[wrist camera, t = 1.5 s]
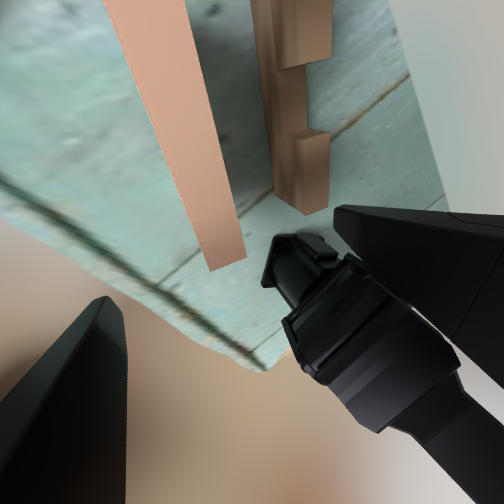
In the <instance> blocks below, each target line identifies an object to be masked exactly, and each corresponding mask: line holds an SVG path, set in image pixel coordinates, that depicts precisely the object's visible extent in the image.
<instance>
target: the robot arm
mask: <svg viewBox="0 0 504 504" xmlns="http://www.w3.org/2000/svg"><path fill="white" fill-rule="evenodd" d="M333 227H334V229H335V231H336V232H337V233H338V234H339V236H340V237H341V238H342V239H343V240H344V241H345V242H346V244H347V245H348V246H349V247H350V248H351V249H352V250H353V251H354V252H355V254H356V255H357V256H358V257H360V258H361V259H362V260H363V261H362V260H360V259H359V258H357V257H355V256H354V255H352V254H350V253H349V252H348V253H347V254H346V255H345V256H344V258H343V259H342V260H340V259H339V258H338V255H339V254H338V252H337V251H336V250H334V249H333V248H332V247H330V246H329V245H328V244H326V243H325V242H324V241H325V239H324V238H323V237H322V236H316V235H314V234H294V235H276V236H275V237H274V238H273V240H272V244H271V247H270V251H269V255H268V258H267V262H266V266H265V269H264V273H263V277H262V281H261V285H262V287H263V288H273V287H276V289H277V290H278V291H279V293H280V294H281V295H282V297H283V298H284V300H285V301H286V302H287V304H288V305H289V306H290V308H291V309H292V311H291V313H290V314H289V315H288V316H287V317H284V318H283V319H282V320H281V322H282V325H283V327H284V331H285V333H286V336H287V338H288V340H289V343H290V345H291V348H292V350H293V353H294V355H295V358H296V360H297V362H298V363H299V364H300V366H301V369H302V370H303V371H304V372H305V373H308V374H310V376H311V377H312V378H313V379H315V380H316V381H317V382H318V383H320V384H321V385H324V386H328V387H329V388H330V390H331V391H332V392H333V393H334V394H335V395H336V396H337V397H338V398H339V399H340V401H341V402H342V403H343V404H344V405H345V407H346V408H347V409H348V410H349V412H351V414H352V415H353V417H354V418H355V419H356V420H357V421H358V423H359V424H361V425H363V426H364V427H366V428H368V429H369V430H371V431H373V432H375V433H378V434H379V433H380V432H381V431H383V430H384V429H385V428H386V427H387V426H389V427H392V428H394V429H397V430H400V431H402V432H405V433H407V434H409V435H411V436H412V437H413V438H414V439H415V440H416V441H417V442H418V443H419V444H420V445H421V446H422V447H423V448H424V449H425V450H426V451H427V452H428V454H429V455H430V456H431V457H432V458H433V459H434V460H435V461H436V462H437V463H438V464H439V465H440V466H441V467H442V468H443V469H444V470H445V471H446V472H447V474H448V475H449V476H450V477H451V478H452V479H453V480H454V481H455V482H456V483H457V484H458V485H459V486H460V487H461V488H462V489H463V490H464V491H465V493H467V495H468V496H469V497H470V498H471V499H472V500H473V501H474V502H475V503H476V504H504V426H503V424H502V423H500V422H499V421H498V420H497V419H496V418H495V417H494V416H492V415H491V414H490V413H489V412H488V411H487V410H486V409H485V408H483V407H482V406H481V405H480V404H479V403H478V402H477V401H475V400H474V399H473V398H472V397H471V396H470V395H469V394H468V393H466V392H465V390H464V388H463V385H462V383H461V380H460V378H459V375H458V373H457V369H458V368H459V367H460V366H461V363H460V361H459V359H458V357H457V355H456V353H455V351H454V349H453V347H452V346H451V345H450V344H449V343H448V342H447V341H446V340H445V339H444V337H443V336H442V335H441V333H440V332H438V331H437V330H436V329H435V328H434V327H433V326H431V325H430V324H429V323H428V322H427V321H425V320H424V319H423V318H422V317H421V316H420V315H418V314H417V313H416V312H415V311H414V310H412V309H411V308H412V307H414V308H415V309H417V310H418V311H419V312H420V313H421V314H422V315H423V316H424V317H425V318H426V319H427V320H428V321H430V322H431V323H432V324H433V325H434V326H435V327H436V328H437V329H438V330H439V331H441V332H442V333H443V334H444V335H445V336H446V337H447V338H448V339H450V341H451V342H452V343H453V344H455V345H456V346H457V347H458V348H459V349H460V350H461V351H462V352H463V353H464V354H466V355H467V356H468V357H469V358H470V359H471V360H472V361H473V362H474V363H475V364H476V365H478V366H479V367H480V368H481V369H482V370H483V371H484V372H485V373H486V374H487V375H488V376H490V377H491V378H492V379H493V380H494V381H495V382H496V383H497V384H498V385H499V386H500V387H502V388H503V389H504V215H487V214H470V213H455V212H454V213H453V212H446V213H445V212H440V211H427V210H413V209H399V208H386V207H372V206H358V205H341V206H338V207H336V208H335V209H334V216H333ZM278 239H279V240H278ZM277 240H278V241H277ZM276 241H277V242H276ZM265 283H266V284H265ZM127 372H128V356H127V345H126V336H125V328H124V320H123V314H122V312H121V310H120V309H119V308H118V307H117V305H116V304H115V303H114V302H113V301H112V299H111V298H110V297H109V296H102V297H100V298H97V299H95V300H93V301H92V302H91V303H90V304H89V305H88V306H87V307H86V308H85V310H84V311H83V312H82V313H81V314H80V315H79V316H78V317H77V318H76V319H75V321H74V322H73V323H72V324H71V325H70V326H69V327H68V328H67V330H65V331H64V333H63V334H62V335H61V336H60V337H59V338H58V339H57V340H56V342H55V343H54V344H53V345H52V346H51V347H50V348H49V349H48V350H47V351H46V352H45V353H44V355H43V356H42V357H41V358H40V359H39V360H38V361H37V362H36V363H35V364H34V366H32V368H31V369H30V370H29V371H28V372H27V373H26V374H25V375H24V376H23V378H22V379H21V380H20V381H19V382H18V383H17V384H16V385H15V386H14V388H12V389H11V391H10V392H9V393H8V394H7V395H6V396H5V397H4V398H3V399H2V400H1V402H0V504H125V495H126V434H127V429H126V428H127Z"/></svg>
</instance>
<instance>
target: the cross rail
mask: <svg viewBox="0 0 504 504" xmlns="http://www.w3.org/2000/svg"><path fill="white" fill-rule="evenodd" d="M251 8H252V16H253V24H254V32H255V40H256V48H257V56H258V64H259V72H260V80H261V88H262V96H263V103H264V111H265V119H266V127H267V135H268V143H269V151H270V159H271V167H272V175H273V183H274V191H275V196H277V197H278V198H280V199H281V200H283V201H284V202H286V203H287V204H289V205H290V206H292V207H293V208H295V209H296V210H298V211H299V212H301V213H302V214H304V215H305V216H306V215H308V214H311V213H314V212H316V211H319V210H322V209H324V208H327V207H328V192H329V148H330V132H326V131H319V130H311V129H307V103H306V70H305V65H306V64H309V63H313V62H317V61H321V60H325V59H328V58H332V16H333V0H251Z"/></svg>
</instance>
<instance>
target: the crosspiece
mask: <svg viewBox="0 0 504 504" xmlns="http://www.w3.org/2000/svg"><path fill="white" fill-rule="evenodd" d="M103 2H104V4H105V7H106V10H107V12H108V15H109V18H110V20H111V23H112V25H113V28H114V30H115V33H116V35H117V38H118V40H119V43H120V46H121V48H122V51H123V53H124V56H125V58H126V61H127V63H128V66H129V68H130V71H131V74H132V76H133V79H134V81H135V84H136V86H137V89H138V91H139V94H140V96H141V99H142V101H143V103H144V106H145V108H146V111H147V114H148V116H149V119H150V121H151V124H152V126H153V129H154V131H155V134H156V137H157V139H158V142H159V144H160V147H161V149H162V152H163V154H164V157H165V159H166V163H167V165H168V168H169V170H170V173H171V175H172V178H173V180H174V183H175V186H176V188H177V191H178V193H179V196H180V198H181V201H182V203H183V206H184V208H185V211H186V213H187V216H188V218H189V221H190V223H191V226H192V228H193V231H194V233H195V235H196V238H197V240H198V243H199V245H200V248H201V250H202V253H203V255H204V258H205V260H206V262H207V265H208V267H209V270H210V272H211V271H214V270H216V269H219V268H221V267H224V266H226V265H229V264H231V263H234V262H236V261H239V260H241V259H244V258H246V257H247V254H246V250H245V246H244V242H243V238H242V233H241V229H240V225H239V221H238V217H237V213H236V209H235V205H234V201H233V197H232V193H231V189H230V185H229V181H228V177H227V172H226V168H225V164H224V160H223V156H222V152H221V148H220V144H219V140H218V136H217V132H216V128H215V124H214V120H213V115H212V111H211V107H210V103H209V99H208V95H207V91H206V87H205V83H204V79H203V75H202V71H201V67H200V63H199V58H198V54H197V50H196V46H195V42H194V38H193V34H192V30H191V26H190V22H189V18H188V14H187V10H186V6H185V2H184V0H103Z"/></svg>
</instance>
